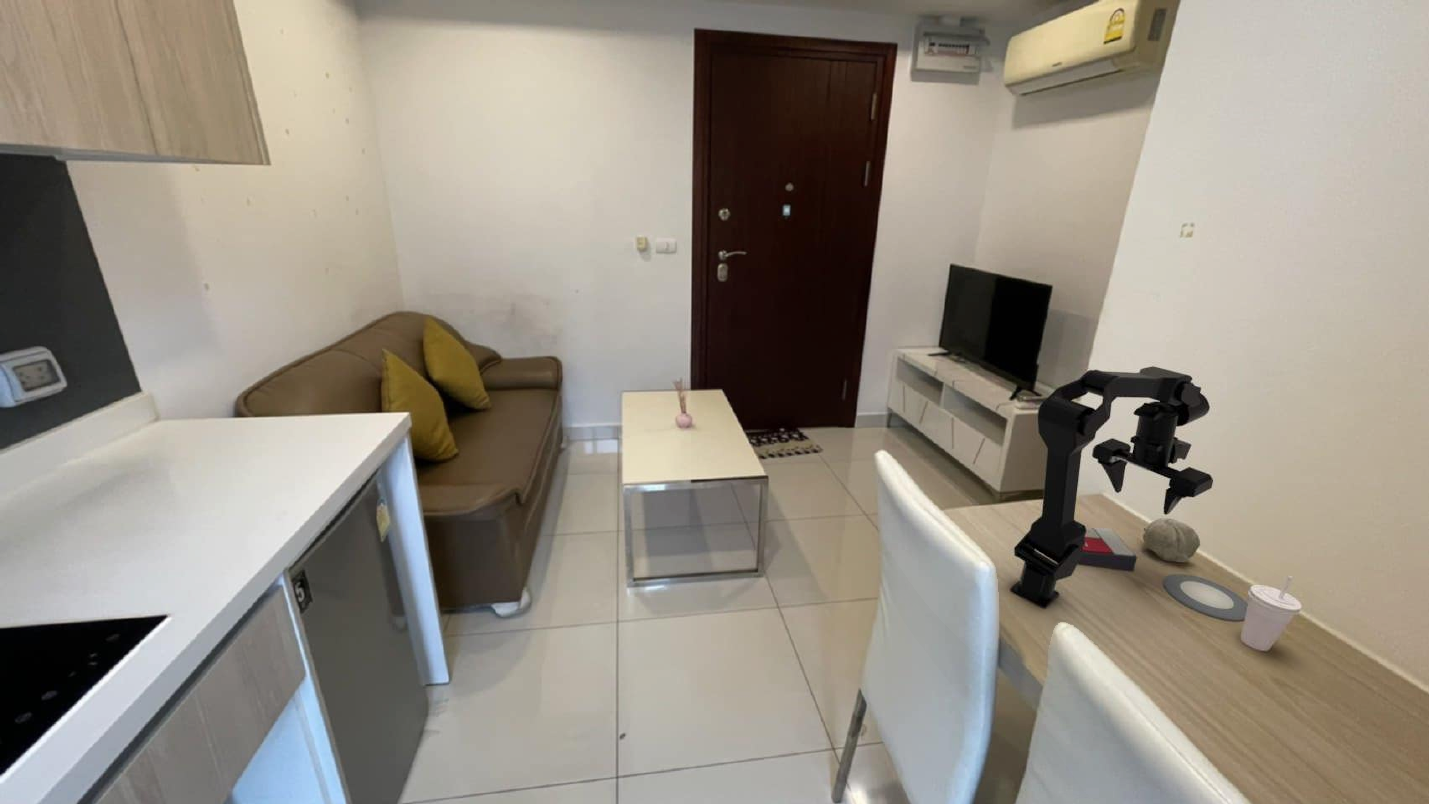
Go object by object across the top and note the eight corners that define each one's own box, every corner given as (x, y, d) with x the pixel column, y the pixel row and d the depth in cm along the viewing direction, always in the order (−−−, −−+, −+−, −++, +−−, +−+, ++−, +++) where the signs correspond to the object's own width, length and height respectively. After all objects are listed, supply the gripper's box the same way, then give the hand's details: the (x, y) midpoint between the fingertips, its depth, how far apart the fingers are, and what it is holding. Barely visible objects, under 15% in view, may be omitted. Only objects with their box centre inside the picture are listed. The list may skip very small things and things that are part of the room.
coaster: (1241, 631, 100) (1243, 628, 100) (1154, 592, 110) (1155, 589, 109) (1256, 602, 108) (1258, 599, 108) (1173, 568, 118) (1174, 565, 117)
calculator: (1039, 520, 127) (1113, 526, 125) (1035, 536, 129) (1108, 542, 126) (1058, 547, 117) (1139, 554, 115) (1054, 565, 119) (1134, 572, 116)
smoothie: (1269, 662, 94) (1303, 591, 89) (1223, 636, 99) (1252, 568, 94) (1286, 649, 96) (1319, 580, 92) (1240, 625, 102) (1269, 559, 97)
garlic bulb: (1185, 574, 120) (1220, 545, 114) (1149, 567, 119) (1182, 538, 113) (1160, 539, 127) (1191, 509, 121) (1125, 532, 127) (1155, 502, 121)
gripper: (1240, 438, 101) (1221, 511, 107) (1132, 405, 117) (1121, 469, 123) (1201, 458, 98) (1183, 532, 104) (1095, 420, 114) (1085, 486, 120)
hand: (1141, 502), depth 113 cm, fingers open, 9 cm apart
